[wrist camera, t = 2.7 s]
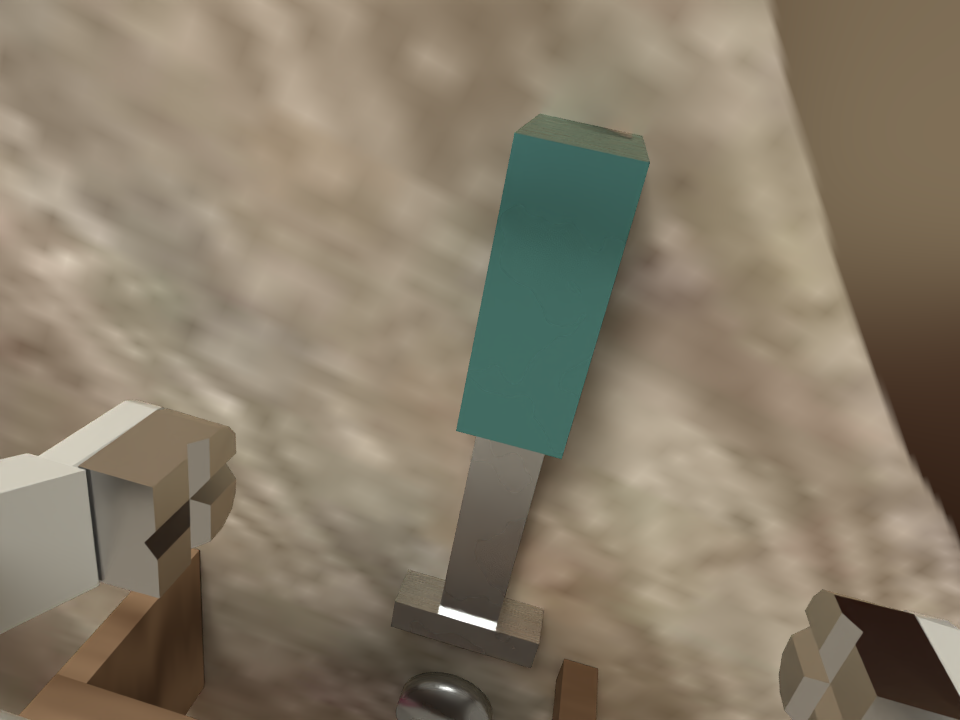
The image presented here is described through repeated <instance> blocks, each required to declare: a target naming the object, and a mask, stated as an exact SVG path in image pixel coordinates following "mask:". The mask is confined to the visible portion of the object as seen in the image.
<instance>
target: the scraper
mask: <svg viewBox="0 0 960 720" xmlns="http://www.w3.org/2000/svg"><path fill="white" fill-rule="evenodd" d="M649 164H650V161H649V158H648V154H647V151H646V147H645V144H644V140H643V137H642V136H640V135H635V134H631V133H626V132H622V131H617V130H612V129H608V128H603V127H598V126H594V125H589V124H584V123H580V122H575V121H571V120H566V119H561V118H557V117H552V116H547V115H543V114H539V115H538V116H536V117H535V118H534V119H532V120H531V121H530V122H528V123H527V124H526V125H524V126H523V127H522V128H520V129H519V130H518V131H516V132H515V133H514V139H513V144H512V149H511V154H510V159H509V164H508V169H507V174H506V179H505V184H504V190H503V195H502V200H501V205H500V210H499V215H498V220H497V225H496V230H495V235H494V241H493V246H492V251H491V256H490V261H489V266H488V271H487V276H486V281H485V286H484V292H483V297H482V302H481V307H480V312H479V317H478V322H477V327H476V332H475V337H474V343H473V348H472V353H471V358H470V363H469V368H468V373H467V378H466V383H465V388H464V394H463V399H462V404H461V409H460V414H459V419H458V424H457V429H456V431H459V432H462V433H466V434H470V435H474V436H476V440H475V445H474V449H473V454H472V459H471V463H470V468H469V473H468V477H467V482H466V487H465V491H464V496H463V500H462V505H461V510H460V514H459V519H458V524H457V528H456V533H455V538H454V542H453V547H452V552H451V556H450V561H449V566H448V570H447V575H446V580H443V579H439V578H436V577H432V576H429V575H426V574H422V573H419V572H415V571H412V570H408V571H407V574H406V576H405V578H404V581H403V583H402V586H401V588H400V591H399V593H398V596H397V598H396V601H395V605H394V611H393V617H392V623H391V627H395V628H398V629H401V630H405V631H408V632H411V633H415V634H418V635H421V636H425V637H428V638H431V639H435V640H438V641H441V642H445V643H448V644H451V645H455V646H458V647H461V648H465V649H468V650H471V651H475V652H478V653H481V654H485V655H488V656H491V657H495V658H498V659H501V660H505V661H508V662H511V663H515V664H518V665H521V666H525V667H528V668H531V667H532V664H533V661H534V658H535V655H536V652H537V649H538V646H539V641H540V634H541V626H542V619H543V612H544V609H542V608H539V607H535V606H532V605H529V604H525V603H522V602H518V601H515V600H511V599H508V598H505V594H506V590H507V587H508V583H509V579H510V576H511V572H512V569H513V565H514V562H515V558H516V555H517V551H518V547H519V544H520V540H521V537H522V533H523V530H524V526H525V523H526V519H527V515H528V512H529V508H530V505H531V501H532V498H533V494H534V491H535V487H536V483H537V480H538V476H539V473H540V469H541V466H542V462H543V459H544V455H548V456H552V457H556V458H560V459H562V456H563V453H564V449H565V446H566V443H567V439H568V436H569V432H570V429H571V426H572V422H573V419H574V416H575V412H576V409H577V406H578V402H579V399H580V396H581V392H582V389H583V385H584V382H585V379H586V375H587V372H588V369H589V365H590V362H591V359H592V355H593V352H594V349H595V345H596V342H597V338H598V335H599V332H600V328H601V325H602V322H603V318H604V315H605V312H606V308H607V305H608V302H609V298H610V295H611V291H612V288H613V285H614V281H615V278H616V275H617V271H618V268H619V265H620V261H621V258H622V255H623V251H624V248H625V245H626V241H627V238H628V234H629V231H630V228H631V224H632V221H633V218H634V214H635V211H636V208H637V204H638V201H639V198H640V194H641V191H642V187H643V184H644V181H645V177H646V174H647V171H648V167H649Z"/></svg>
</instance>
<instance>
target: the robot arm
mask: <svg viewBox="0 0 960 720" xmlns="http://www.w3.org/2000/svg"><path fill="white" fill-rule="evenodd" d="M235 454H236V436H235V432H234V431H233V430H232V429H231V428H230V427H228V426H225V425H221V424H218V423H215V422H211V421H208V420H205V419H201V418H198V417H195V416H191V415H188V414H185V413H181V412H178V411H174V410H171V409H165V408H163V407H160V406H156V405H153V404H149V403H146V402H142V401H139V400H127V401H124V402H122V403H120V404H119V405H117V406H116V407H114V408H113V409H111V410H110V411H108V412H106V413H105V414H103V415H102V416H100V417H99V418H97V419H95V420H94V421H92V422H91V423H89V424H88V425H86V426H85V427H83V428H81V429H80V430H78V431H77V432H75V433H74V434H72V435H70V436H69V437H67V438H66V439H64V440H63V441H61V442H60V443H58V444H56V445H55V446H53V447H52V448H50V449H49V450H47V451H45V452H44V453H42V454H41V455H39V456H36V455H32V454H28V453H26V454H22V455H18V456H13V457H9V458H5V459H0V634H2V633H4V632H6V631H8V630H10V629H12V628H14V627H16V626H18V625H20V624H22V623H24V622H26V621H28V620H30V619H32V618H34V617H36V616H38V615H40V614H42V613H44V612H46V611H48V610H50V609H52V608H55V607H57V606H59V605H61V604H63V603H65V602H67V601H69V600H71V599H73V598H75V597H77V596H79V595H81V594H83V593H85V592H87V591H89V590H91V589H93V588H95V587H97V586H99V582H102V583H105V584H109V585H113V586H116V587H120V588H123V589H127V590H131V591H134V592H138V593H142V594H145V595H149V596H152V597H156V598H161V596H162V595H163V594H164V593H165V592H166V591H167V590H168V589H169V588H170V586H171V585H172V584H173V583H174V582H175V581H176V580H177V579H178V577H179V576H180V575H181V574H182V573H183V572H184V571H185V570H186V569H187V567H188V566H189V565H190V564H191V549H192V548H195V547H197V546H200V545H202V544H205V543H207V542H210V541H211V540H212V539H213V538H214V537H215V536H216V534H217V533H218V532H219V531H220V530H221V528H222V527H223V525H224V523H225V521H226V519H227V517H228V515H229V513H230V511H231V509H232V506H233V502H234V498H235V493H236V478H235V476H234V475H233V473H232V471H231V470H230V468H229V467H228V465H227V462H228V461H229V460H230V459H231V458H232V457H233V456H234V455H235ZM805 612H806V615H807V618H808V621H809V624H810V627H808V628H806V629H804V630H801V631H799V632H797V633H795V634H793V635H791V637H790V639H789V641H788V643H787V645H786V647H785V649H784V651H783V653H782V659H781V665H780V671H779V685H780V694H781V698H782V703H783V707H784V710H785V712H786V713H787V714H788V715H789V716H790V718H791V719H792V720H960V630H959V629H958V628H957V627H956V626H954V625H953V624H952V623H950V622H949V621H947V620H943V619H939V618H935V617H931V616H927V615H923V614H919V613H915V612H911V611H906V610H905V611H901V610H897V609H894V608H890V607H886V606H883V605H879V604H875V603H871V602H868V601H864V600H860V599H857V598H853V597H849V596H845V595H842V594H838V593H834V592H830V591H827V590H823V589H822V590H821V591H820V592H819V593H817V594H816V595H815V596H814V597H813V598H812V600H811V601H810V603H809V605H808V607H807V608H806V610H805ZM0 720H30V719H27V718H24V717H21V716H18V715H15V714H12V713H9V712H6V711H3V710H0Z"/></svg>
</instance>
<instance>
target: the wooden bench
mask: <svg viewBox="0 0 960 720" xmlns="http://www.w3.org/2000/svg"><path fill="white" fill-rule="evenodd" d="M597 683H598V669H597V668H593V667H590V666H587V665H583V664H580V663H577V662H573V661H570V660H567V659H564V661H563V664H562V666H561V669H560V672H559V675H558V677H557V680H556V689H555V699H554V709H553V719H552V720H596V713H597ZM203 688H204V664H203V638H202V612H201V585H200V559H199V550H197V549H194V548H192V549H191V564H190V565H189V566H188V567H187V569H186V570H185V571H184V572H183V573H182V574H181V575H180V576H179V577H178V579H177V580H176V581H175V582H174V583H173V584H172V585H171V586H170V588H169V589H168V590H167V591H166V592H165V593H164V594H163V595H162V596H161V598H156V597H152V596H149V595H145V594H142V593H138V592H134V591H131V592H130V593H129V595H128V596H127V597H126V598H125V599H124V600H123V601H122V602H121V603H120V604H119V606H118V607H117V608H116V609H115V610H114V611H113V612H112V613H111V614H110V615H109V617H108V618H107V619H106V620H105V621H104V622H103V623H102V624H101V625H100V626H99V628H98V629H97V630H96V631H95V632H94V633H93V634H92V635H91V636H90V638H89V639H88V640H87V641H86V642H85V643H84V644H83V645H82V646H81V647H80V649H79V650H78V651H77V652H76V653H75V654H74V655H73V656H72V657H71V658H70V660H69V661H68V662H67V663H66V664H65V665H64V666H63V667H62V668H61V669H60V671H59V672H58V673H57V674H56V675H55V676H54V677H53V678H52V679H51V680H50V682H49V683H48V684H47V685H46V686H45V687H44V688H43V689H42V690H41V691H40V693H39V694H38V695H37V696H36V697H35V698H34V699H33V700H32V701H31V702H30V704H29V705H28V706H27V707H26V708H25V709H24V710H23V711H22V712H21V713H20V715H19V716H21V717H24V718H27V719H30V720H197V719H194V718H191V717H188V716H185V715H186V714H187V712H188V710H189V709H190V707H191V706H192V704H193V703H194V701H195V700H196V698H197V697H198V695H199V694H200V692H201V691H202V689H203Z"/></svg>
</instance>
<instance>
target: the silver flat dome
mask: <svg viewBox="0 0 960 720" xmlns="http://www.w3.org/2000/svg"><path fill="white" fill-rule="evenodd" d="M396 716H397V720H491V718H492V708H491V705H490V702H489V700H488V699H487V697H486V696H485V694H484V693H483V692H482V691H481V690H480V689H479V688H477V687H476V686H475V685H473V684H472V683H470V682H469V681H467V680H465V679H463V678H460V677H458V676H455V675H452V674H448V673H441V672H428V673H422V674H419V675H416V676H414V677H412V678H411V679H410V680H408V681H407V683H406V684H405V685H404V687H403V690H402V693H401V696H400V699H399V702H398V705H397V708H396Z"/></svg>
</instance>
